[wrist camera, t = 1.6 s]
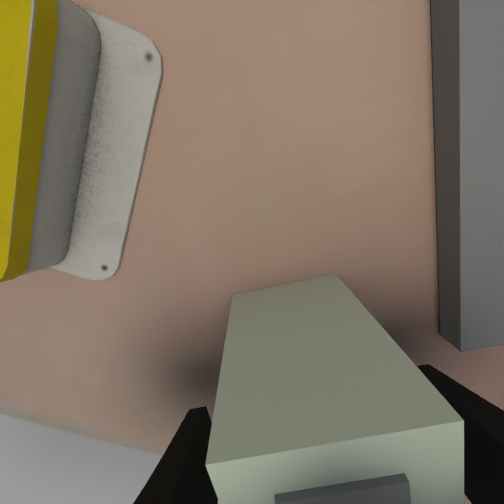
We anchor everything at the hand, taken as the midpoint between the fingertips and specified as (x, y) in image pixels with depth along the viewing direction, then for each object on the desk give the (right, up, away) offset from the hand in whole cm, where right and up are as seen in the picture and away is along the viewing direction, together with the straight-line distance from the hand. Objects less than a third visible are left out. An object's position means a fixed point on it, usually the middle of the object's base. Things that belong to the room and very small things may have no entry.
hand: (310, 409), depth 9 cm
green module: (0, +1, +3) cm, 3 cm away
